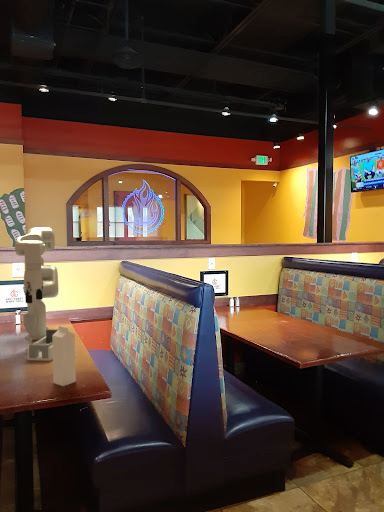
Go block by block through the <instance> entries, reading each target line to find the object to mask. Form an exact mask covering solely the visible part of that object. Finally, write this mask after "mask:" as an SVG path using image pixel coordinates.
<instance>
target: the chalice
mask: <svg viewBox="0 0 384 512" xmlns="http://www.w3.org/2000/svg"><path fill="white" fill-rule="evenodd" d="M36 316H37V313H28V312H27V313H22V319H23V326H24V329H25V330H26V332H27V334H28V333H29V338H30V339H29V340H28V341H29V344H28V345H27V346H26V348H25V352H27V347H28V346H29V345H30V344H32V342H33V340H32V335H31V333H32V332H33V331H34V329H35V327H36V324H37V321H36Z"/></svg>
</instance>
